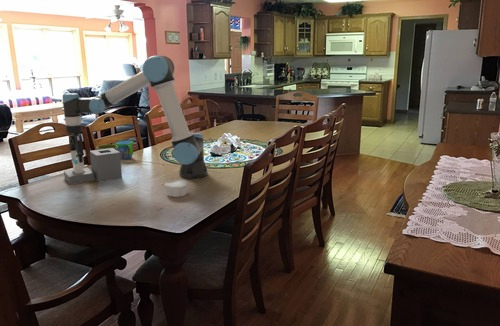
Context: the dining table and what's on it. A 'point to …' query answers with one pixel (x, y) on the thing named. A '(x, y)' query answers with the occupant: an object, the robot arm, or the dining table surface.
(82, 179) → the plate
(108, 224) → the dining table surface
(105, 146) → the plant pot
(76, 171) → the plug
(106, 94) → the robot arm
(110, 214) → the dining table surface
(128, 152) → the snack cup
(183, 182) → the ramekin
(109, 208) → the dining table surface
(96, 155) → the block
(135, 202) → the dining table surface
